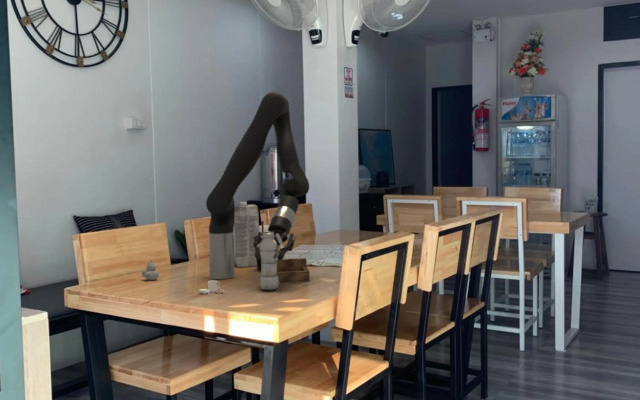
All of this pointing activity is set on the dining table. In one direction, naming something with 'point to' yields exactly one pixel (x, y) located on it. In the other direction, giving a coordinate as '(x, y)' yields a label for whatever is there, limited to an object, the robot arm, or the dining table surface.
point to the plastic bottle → (269, 262)
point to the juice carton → (245, 234)
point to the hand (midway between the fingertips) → (267, 258)
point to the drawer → (292, 270)
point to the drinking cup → (255, 251)
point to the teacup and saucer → (210, 287)
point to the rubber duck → (150, 271)
